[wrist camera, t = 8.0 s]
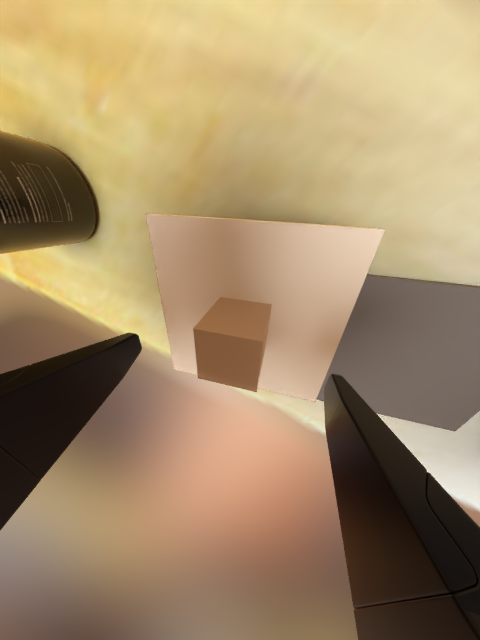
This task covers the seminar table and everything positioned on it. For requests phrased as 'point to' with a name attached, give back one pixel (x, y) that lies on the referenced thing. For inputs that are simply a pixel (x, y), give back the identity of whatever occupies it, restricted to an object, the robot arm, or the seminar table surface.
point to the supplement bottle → (41, 197)
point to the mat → (413, 350)
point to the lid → (258, 297)
